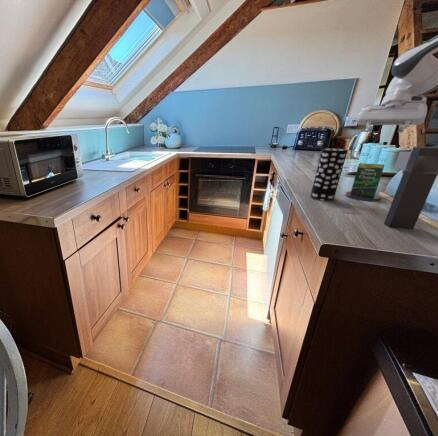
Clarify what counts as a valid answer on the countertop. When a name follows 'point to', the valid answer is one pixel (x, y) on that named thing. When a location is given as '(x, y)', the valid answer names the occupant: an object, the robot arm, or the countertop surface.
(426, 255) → the countertop surface
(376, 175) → the coffee box
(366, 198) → the coaster
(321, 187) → the spotted tube
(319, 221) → the countertop surface
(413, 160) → the tall grey box
